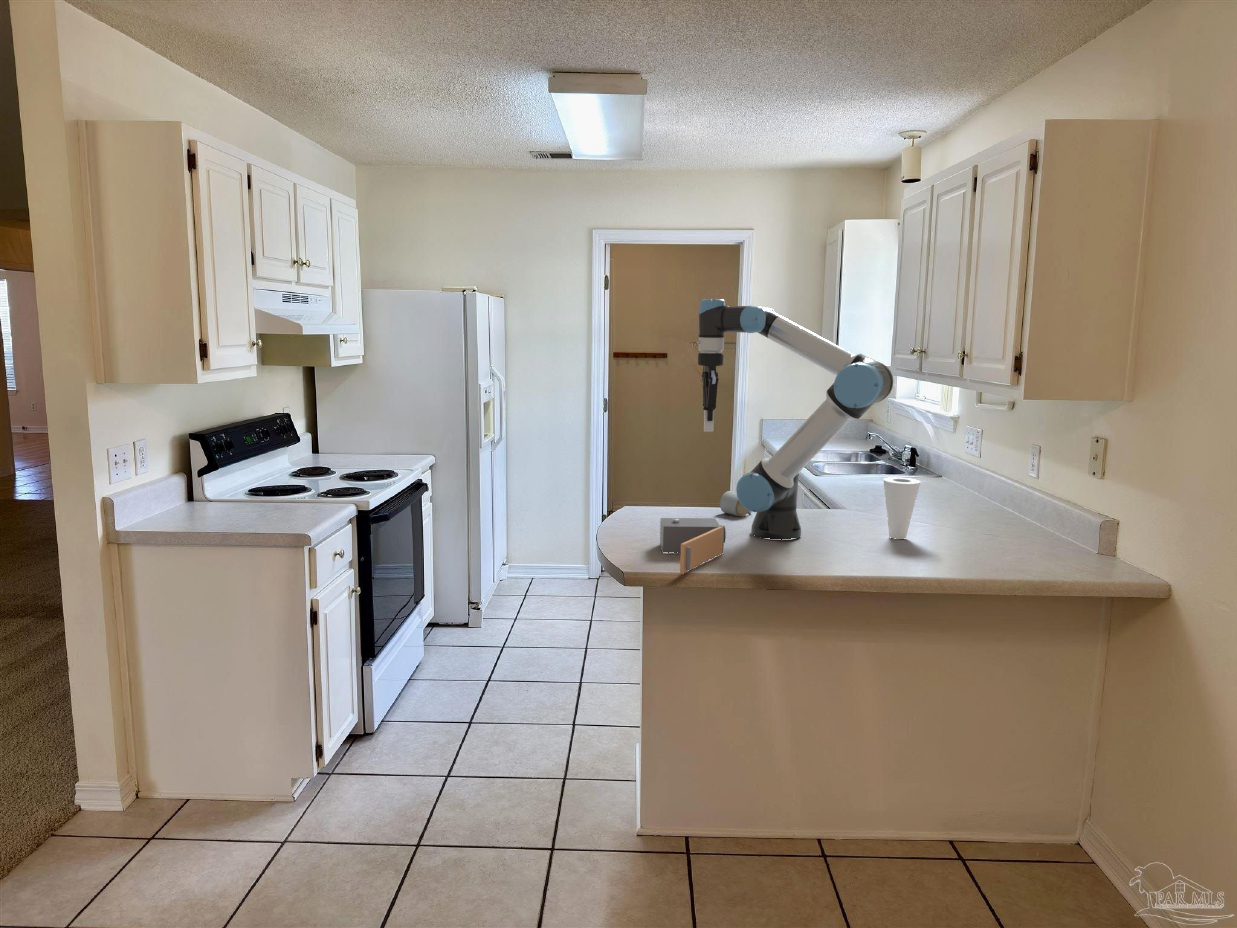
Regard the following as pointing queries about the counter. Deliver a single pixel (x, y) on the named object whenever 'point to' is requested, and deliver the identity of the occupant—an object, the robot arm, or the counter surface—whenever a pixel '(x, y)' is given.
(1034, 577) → the counter surface
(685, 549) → the door
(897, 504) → the cup
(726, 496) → the ceramic mug
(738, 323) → the robot arm
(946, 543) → the counter surface
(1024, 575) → the counter surface
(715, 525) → the camera housing
